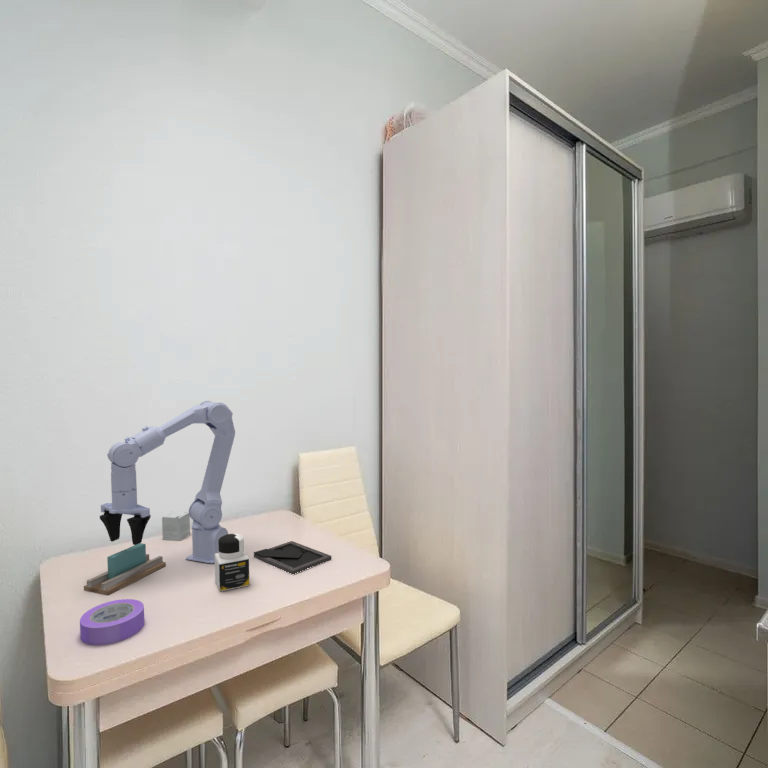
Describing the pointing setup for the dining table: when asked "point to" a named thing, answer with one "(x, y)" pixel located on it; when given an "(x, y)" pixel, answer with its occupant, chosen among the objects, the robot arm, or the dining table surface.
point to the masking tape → (112, 622)
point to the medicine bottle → (231, 563)
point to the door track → (123, 577)
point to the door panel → (126, 560)
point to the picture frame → (291, 557)
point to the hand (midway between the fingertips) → (126, 541)
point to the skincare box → (176, 526)
